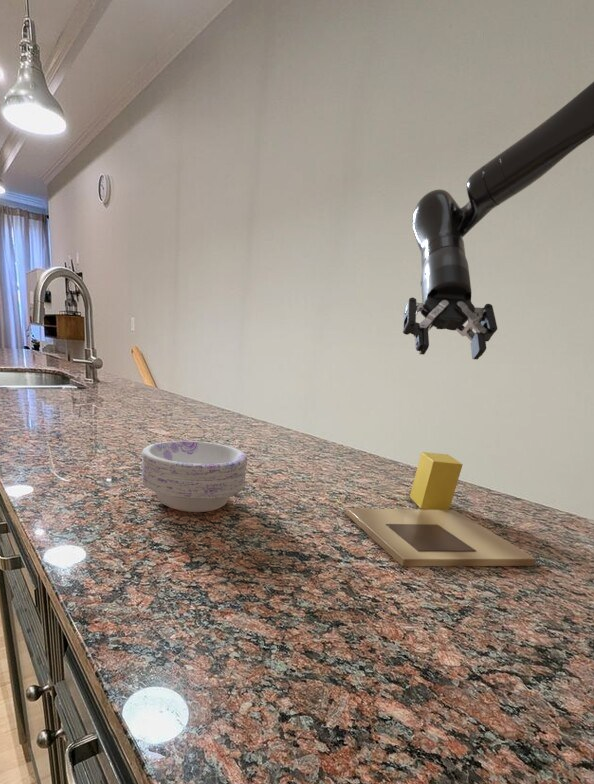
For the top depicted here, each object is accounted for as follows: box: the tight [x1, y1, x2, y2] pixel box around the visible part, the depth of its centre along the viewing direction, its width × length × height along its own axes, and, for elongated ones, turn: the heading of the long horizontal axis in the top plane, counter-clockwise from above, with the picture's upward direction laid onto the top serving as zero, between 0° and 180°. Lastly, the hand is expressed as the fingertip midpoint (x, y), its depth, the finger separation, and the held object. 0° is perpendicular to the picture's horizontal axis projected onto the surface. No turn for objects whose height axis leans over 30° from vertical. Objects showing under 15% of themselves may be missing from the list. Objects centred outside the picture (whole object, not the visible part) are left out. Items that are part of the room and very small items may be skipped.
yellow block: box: [409, 451, 464, 510], centre depth 73 cm, size 4×6×8 cm
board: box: [345, 507, 538, 567], centre depth 61 cm, size 18×16×1 cm
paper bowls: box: [141, 440, 248, 513], centre depth 66 cm, size 15×15×8 cm
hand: (451, 353), depth 73 cm, fingers open, 8 cm apart
